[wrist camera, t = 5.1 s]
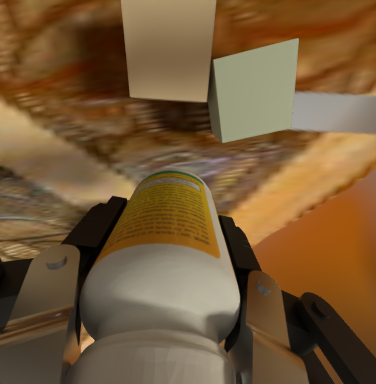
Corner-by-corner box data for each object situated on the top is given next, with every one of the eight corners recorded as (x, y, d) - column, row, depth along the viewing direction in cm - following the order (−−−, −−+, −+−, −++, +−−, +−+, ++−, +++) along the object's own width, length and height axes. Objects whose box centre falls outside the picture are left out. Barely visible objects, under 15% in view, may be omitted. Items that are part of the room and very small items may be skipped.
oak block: (141, 25, 13) (119, -17, 8) (205, 31, 13) (216, -7, 9) (145, 99, 15) (130, 97, 11) (199, 102, 15) (206, 101, 11)
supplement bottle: (224, 209, 12) (318, 458, 4) (165, 240, 13) (137, 473, 5) (183, 148, 10) (184, 431, 1) (117, 192, 11) (-82, 472, 3)
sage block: (203, 73, 14) (213, 59, 10) (261, 59, 14) (298, 37, 10) (211, 132, 17) (222, 142, 12) (261, 121, 16) (291, 127, 12)
